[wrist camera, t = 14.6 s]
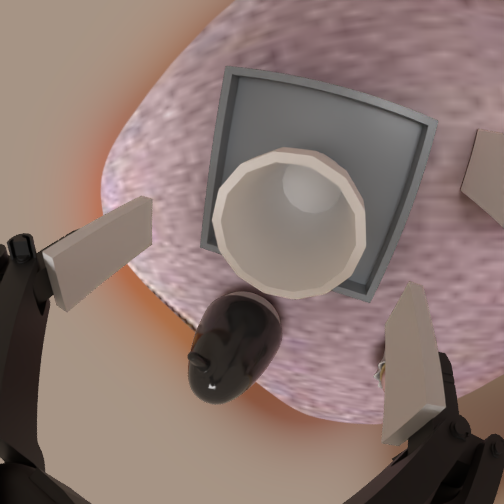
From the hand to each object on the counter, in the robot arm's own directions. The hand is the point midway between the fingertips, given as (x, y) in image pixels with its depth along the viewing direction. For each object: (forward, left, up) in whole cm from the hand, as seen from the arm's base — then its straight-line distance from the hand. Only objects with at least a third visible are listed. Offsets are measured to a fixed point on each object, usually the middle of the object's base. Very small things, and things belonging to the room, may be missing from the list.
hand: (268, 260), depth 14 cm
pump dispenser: (+19, -3, -18) cm, 27 cm away
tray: (0, 0, -18) cm, 18 cm away
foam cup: (0, 0, -17) cm, 17 cm away
